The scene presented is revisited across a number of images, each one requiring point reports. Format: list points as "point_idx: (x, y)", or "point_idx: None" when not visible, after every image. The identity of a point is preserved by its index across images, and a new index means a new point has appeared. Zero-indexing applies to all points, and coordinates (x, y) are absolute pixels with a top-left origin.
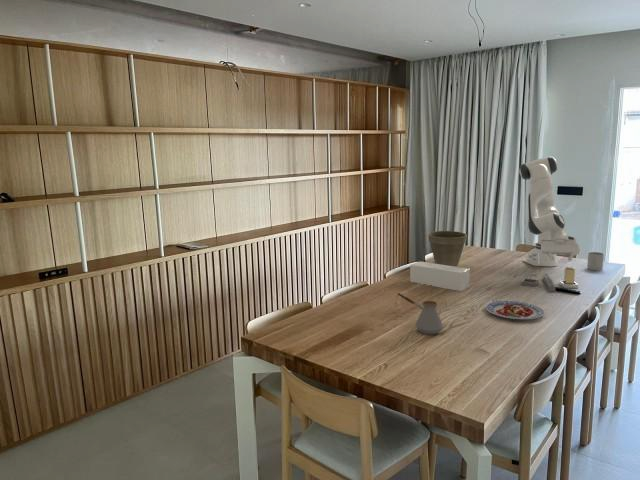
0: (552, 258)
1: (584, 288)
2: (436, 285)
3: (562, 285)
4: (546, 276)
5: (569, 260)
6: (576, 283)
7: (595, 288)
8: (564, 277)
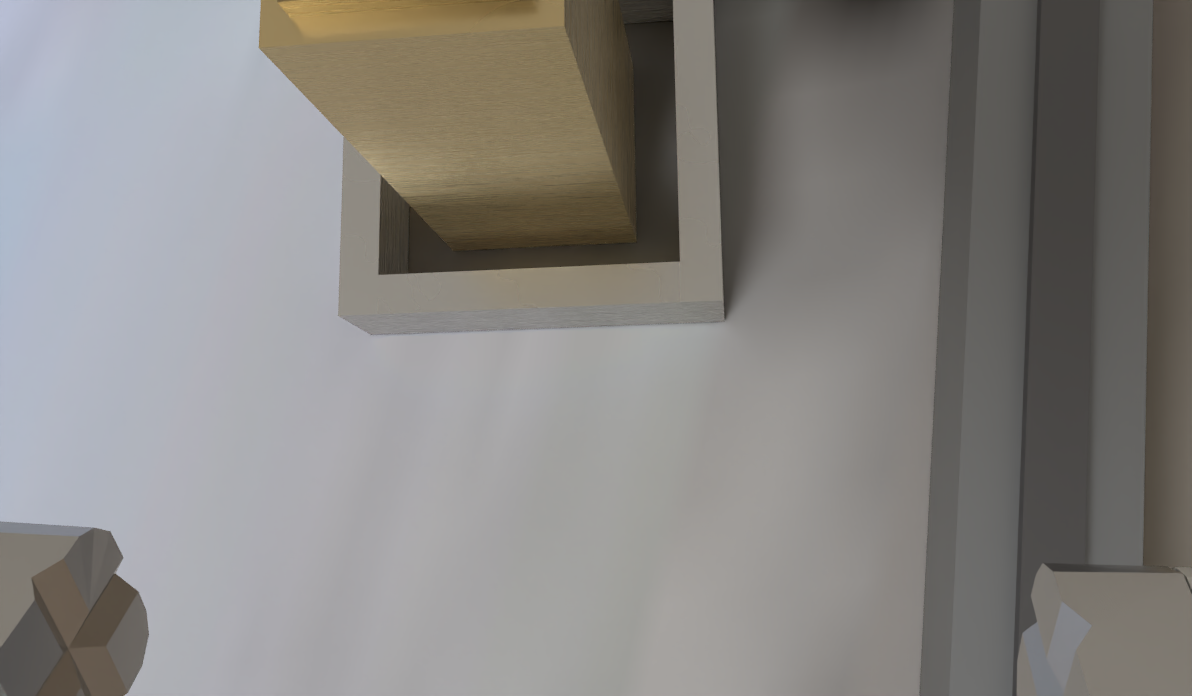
0: (1155, 576)
1: (243, 27)
2: None
3: (714, 31)
4: (1085, 542)
5: (101, 577)
6: None
7: (12, 72)
8: (613, 141)
